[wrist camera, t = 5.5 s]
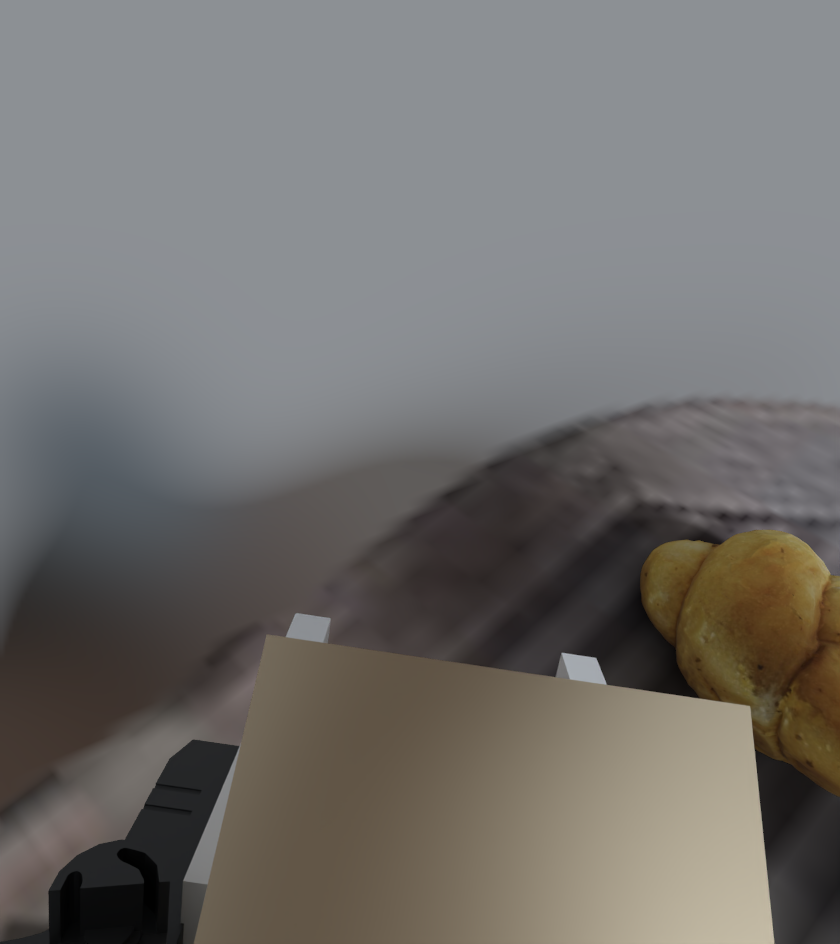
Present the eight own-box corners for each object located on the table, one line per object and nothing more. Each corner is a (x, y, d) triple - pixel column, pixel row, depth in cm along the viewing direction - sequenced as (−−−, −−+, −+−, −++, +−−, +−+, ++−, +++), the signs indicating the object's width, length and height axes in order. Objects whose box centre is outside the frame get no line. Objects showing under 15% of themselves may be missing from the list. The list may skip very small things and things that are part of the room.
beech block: (511, 777, 17) (749, 705, 7) (497, 1017, 15) (828, 1474, 5) (321, 749, 17) (266, 634, 7) (278, 987, 15) (90, 1379, 4)
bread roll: (588, 606, 34) (646, 552, 27) (708, 503, 38) (787, 431, 31) (787, 827, 30) (917, 830, 23) (902, 690, 34) (1046, 656, 27)
